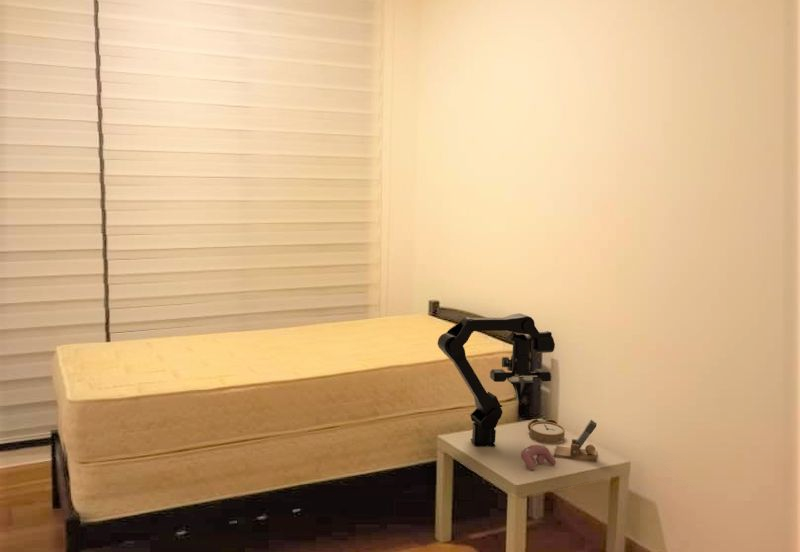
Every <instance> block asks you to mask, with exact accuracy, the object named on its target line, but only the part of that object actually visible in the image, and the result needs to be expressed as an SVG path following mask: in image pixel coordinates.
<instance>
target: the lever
mask: <svg viewBox="0 0 800 552" xmlns="http://www.w3.org/2000/svg"><path fill="white" fill-rule="evenodd" d="M596 427H597V422H595V421H594V420H592V419H590V420H589V421H588V423H587V424H586V426H585V428H584V430H583V431H582V432H581V434H580V435H579V436H578V438H577V441H576V442H575V443H574V444H577V445H579V449H582V446H583V445H584V443H585V442H586V441H587V439H588V438H589V437H590V435H591V434H592V433H593V431H595V429H596Z"/></svg>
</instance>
